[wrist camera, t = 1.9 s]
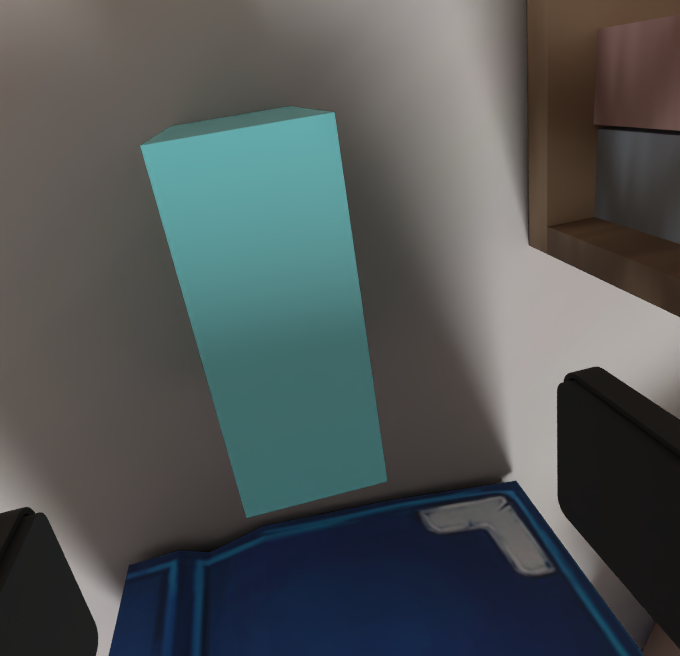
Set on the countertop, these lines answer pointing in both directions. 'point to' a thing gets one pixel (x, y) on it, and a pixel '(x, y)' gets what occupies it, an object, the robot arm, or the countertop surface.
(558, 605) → the book
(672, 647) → the brown bowl
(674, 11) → the shelf
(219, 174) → the teal book
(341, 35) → the countertop surface
